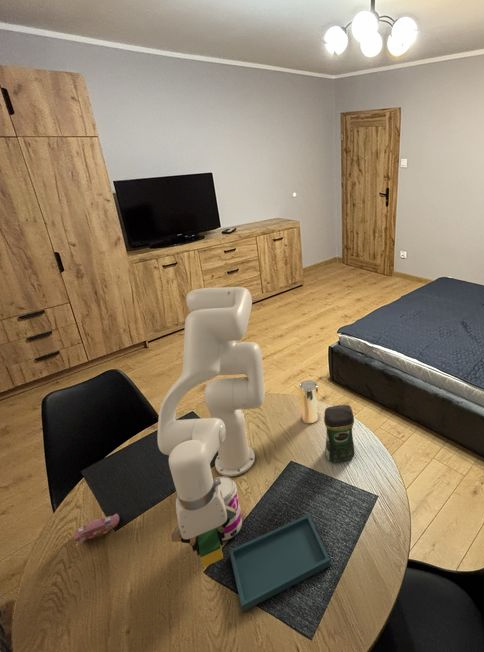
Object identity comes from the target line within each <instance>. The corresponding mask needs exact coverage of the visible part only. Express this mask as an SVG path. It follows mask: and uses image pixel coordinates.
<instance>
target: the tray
mask: <svg viewBox="0 0 484 652" xmlns="http://www.w3.org/2000/svg"><path fill="white" fill-rule="evenodd" d="M228 552H229V558H230V561H231V566H232V571H233V575H234V580H235V584H236V588H237V593H238V598H239V602H240V607H241V611H242V612H243V613H244V612H246V611H248V610H250V609H252V608H253V607H255V606H257V605H259V604H261V603H263V602H264V601H266V600H268V599H270V598H272V597H274V596H276V595H277V594H280V593H282V592H283V591H285V590H288V589H289V588H291V587H293V586H295V585H296V584H299V583H300V582H302V581H304V580H306V579H308V578H310V577H311V576H314V575H316V574H317V573H319V572H321V571H323V570H325V569H326V568H329V567H331V559H330V557H329V555H328V552H327V550H326V548H325V546H324V543H323V541H322V540H321V537H320V535H319V533H318V530H317V529H316V527H315V524H314V522H313V520H312V518H311V516H310V514H306V515H304V516H302V517H299V518H297V519H295V520H292V521H291V522H288V523H286V524H284V525H281V526H279V527H278V528H277V527H276V528H275V529H273V530H271V531H269V532H266V533H263V534H261V535H260V536H257V537H255V538H253V539H250V540H249V541H247V542H244V543H242V544H240V545H238V546H236V547H234V548H231V549H229V550H228Z"/></svg>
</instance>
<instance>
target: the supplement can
mask: <svg viewBox="0 0 484 652" xmlns="http://www.w3.org/2000/svg"><path fill="white" fill-rule="evenodd" d="M219 478H220V481H221V484H220V485H218V486H219V488H220V490H221V493H222V496H223V499H224V503H225V505H227V506H229V507H232V508H234V509H235V510H236V515H235V516H234V517H233V518H232V519H231V520H230V522H229V523H228V525H227V526H226V527H225V528H224V529H225V531H224V535H225V538H223V539H222V541H223V542H224V541H228V540H230V539H232V538H234V537H235V536H236V535H237V534H238V533H239V532H240V530H241V528H242V525H243V519H242V513H241V512H242V511H241V505H240V501H239V500H240V499H239V494H238V489H237V484H236V482H235V481H234V480H233V479H232V478H231V477H230V476H224V475H222V476H218V477H215V478H214V479H219Z"/></svg>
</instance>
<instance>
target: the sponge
mask: <svg viewBox="0 0 484 652" xmlns="http://www.w3.org/2000/svg"><path fill="white" fill-rule="evenodd" d="M197 537H198V543H199V552H200V555H199V557H200V560H201V561H200V562H201V565H202V567H203V568H205V567H208V566H210V565H212V564H215V563H216V562H219V561H220V560H223V559H224V555H223V551H222V550H223V549H222V545H220V541H219V538H218V533H217V528H214V529H212V530H210V531H207V532H205V533H203V534H200V535H198V536H197Z"/></svg>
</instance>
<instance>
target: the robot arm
mask: <svg viewBox="0 0 484 652" xmlns="http://www.w3.org/2000/svg"><path fill="white" fill-rule="evenodd" d="M185 302H186V307H187V308H188V311H189V312H190V313H188V314H187V316H186V317H185V320H184V332H183V333H184V334H183V350H182V351H183V352H182V371H181V374H180V376H179V377H178V378H177V379H176V380H175V382H173V384H172V385H171V386H170V387H169V389H168V390H167V392H166V394H165V395H164V398H163V400H162V402H161V405H160V407H159V411H158V419H157V420H158V421H157V435H156V436H157V437H156V439H157V440H156V442H157V447H158V449H159V451H160V452H161V453H162V454H163V455H166V456H168V466H169V470H170V473H171V477H172V481H173V484H174V488H175V491H176V494H177V495H176V496H177V497H176V499H175V512H176V519H177V525H176V527H175V529H174V530H173V532H172V534H171V542H173V543H174V542H175V543H177V542H179V543H180V542H181V543H182V544H183V543H184V544H189V546H190V547H191V549H192V552H195V551H196V555H197V556H200V552H199V543H198V537H197V536H198V535H200V534H203V533H205V532H207V531H210V530H212V529H214V528H217V533H218V538H219V541H220V545H221V546H223V545H224V540H223V541H222V539H223V538H225V535H224V531H225V529H224V528H225V527H226V526H227V525H228V523H229V522H230V520H231V519H232V518H233V517H234V516H235V515H236V510H235V509H234V508H232V507H229V506H227V505H225V503H224V499H223V496H222V493H221V490H220V488H219V486H218V485H220V484H221V481H220V478H219V479H215V478H214V476H213V473H212V469H211V462H212V461H213V459H214V457H215V456H216V455H217V454H218V455H217V456H216V458H215V461H214V466H215V470H216V471H217V473H218V474H220V475H222V476H224V477H236V476H240V475H243V474H244V473H246V472H247V471H249V469H251V468H252V466H253V465H254V463H255V459H256V456H255V451H254V450H253V448H252V447H250V446H249V442H248V441H249V440H248V433H247V427H246V418H245V415H244V412H243V411H242V410H254V409H258V408H260V407H262V406H263V404H264V402H265V399H266V398H265V397H266V388H265V375H264V363H263V353H262V349H261V347H260V345H259V344H258V343H256V342H254V341H241V340H243V338H244V337H245V335H246V333H247V330H248V325H249V321H250V316H251V313H252V306H253V297H252V294H251V292H250V290H249V289H248V288H246V287H244V286H228V287H227V286H226V287H204V288H203V287H201V288H197V289H192V290H190V291H189V292H188V293H187V294H186V298H185ZM238 341H239V342H238ZM233 375H234V376H235V375H237V376H238V375H245V376H239V377H221V378H216V377H218V376H233ZM214 378H216V379H214ZM212 379H213V380H212ZM210 380H211V381H210ZM206 382H208V383H207V384H206V385H205V387H204V390H203V391H204V393H203V397H204V402H205V405H206V407H207V410H208V412H209V414H210V417H204V418H188V419H187V418H186V419H176V417H177V409H178V407H179V404H180V402H181V401H182V399H183V397H184V396H185V395H186V394H188V393H189V392H190V391H191V390H192V389H194V388H196V387H198V386H199V385H202V384H204V383H206Z"/></svg>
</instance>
